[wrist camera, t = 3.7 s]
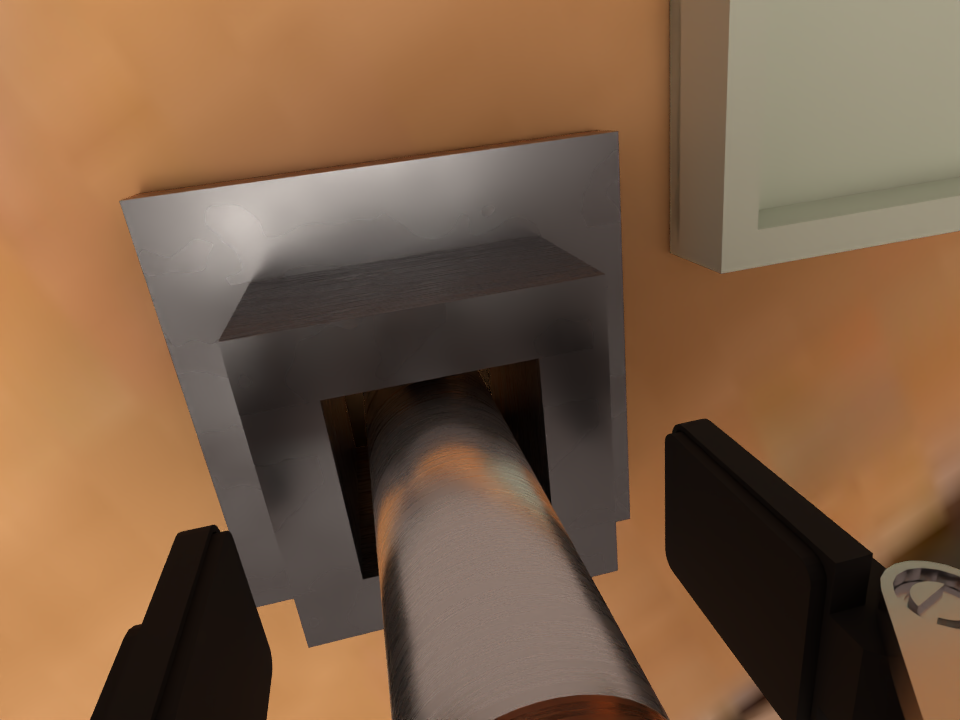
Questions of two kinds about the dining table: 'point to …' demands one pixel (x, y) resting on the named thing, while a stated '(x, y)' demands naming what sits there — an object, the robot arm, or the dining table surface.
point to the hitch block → (392, 341)
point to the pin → (484, 572)
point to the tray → (811, 127)
